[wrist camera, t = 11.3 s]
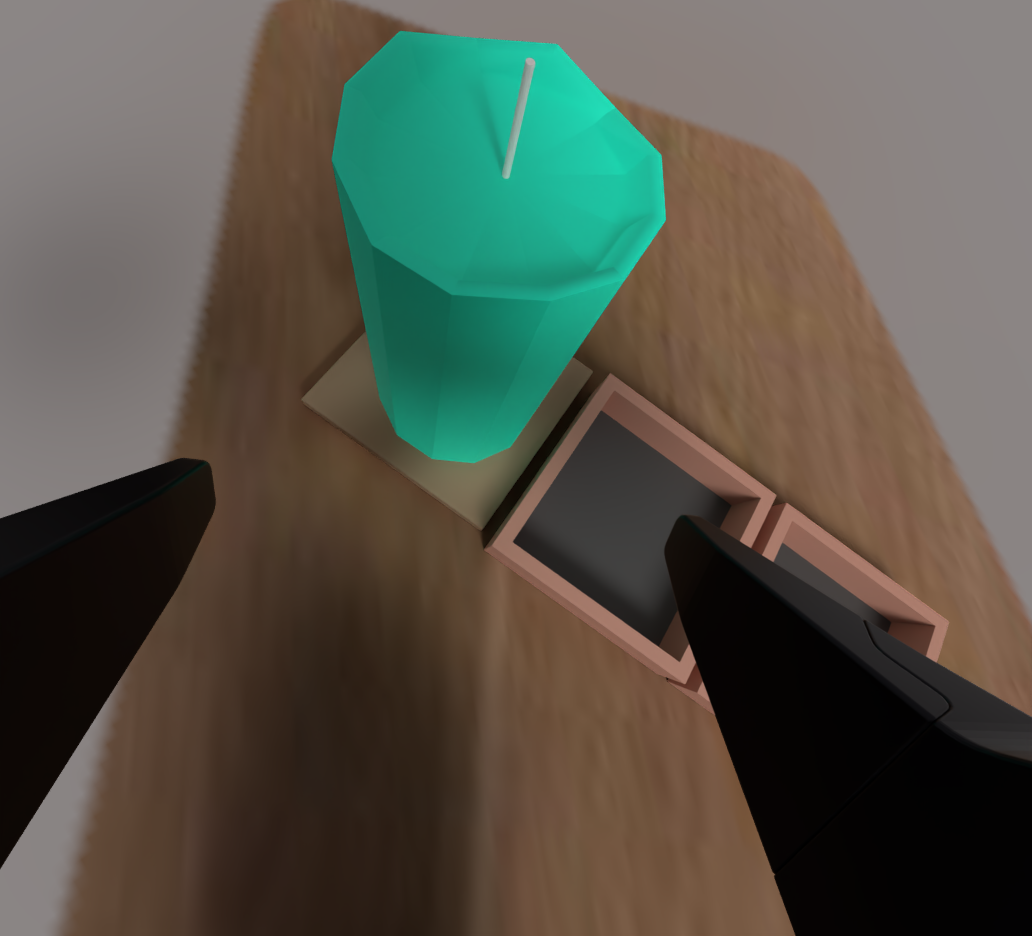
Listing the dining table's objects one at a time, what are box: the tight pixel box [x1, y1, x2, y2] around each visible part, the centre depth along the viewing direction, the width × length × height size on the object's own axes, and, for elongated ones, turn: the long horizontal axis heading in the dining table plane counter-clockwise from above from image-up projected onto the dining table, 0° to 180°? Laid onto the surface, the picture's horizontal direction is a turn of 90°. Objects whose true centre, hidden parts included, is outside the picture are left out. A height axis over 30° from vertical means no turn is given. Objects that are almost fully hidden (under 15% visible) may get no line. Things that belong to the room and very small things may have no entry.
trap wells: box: [484, 373, 949, 715], centre depth 18 cm, size 16×8×2 cm, turn 56°
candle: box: [332, 31, 666, 463], centre depth 13 cm, size 6×6×12 cm
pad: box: [301, 331, 593, 531], centre depth 19 cm, size 8×8×1 cm
